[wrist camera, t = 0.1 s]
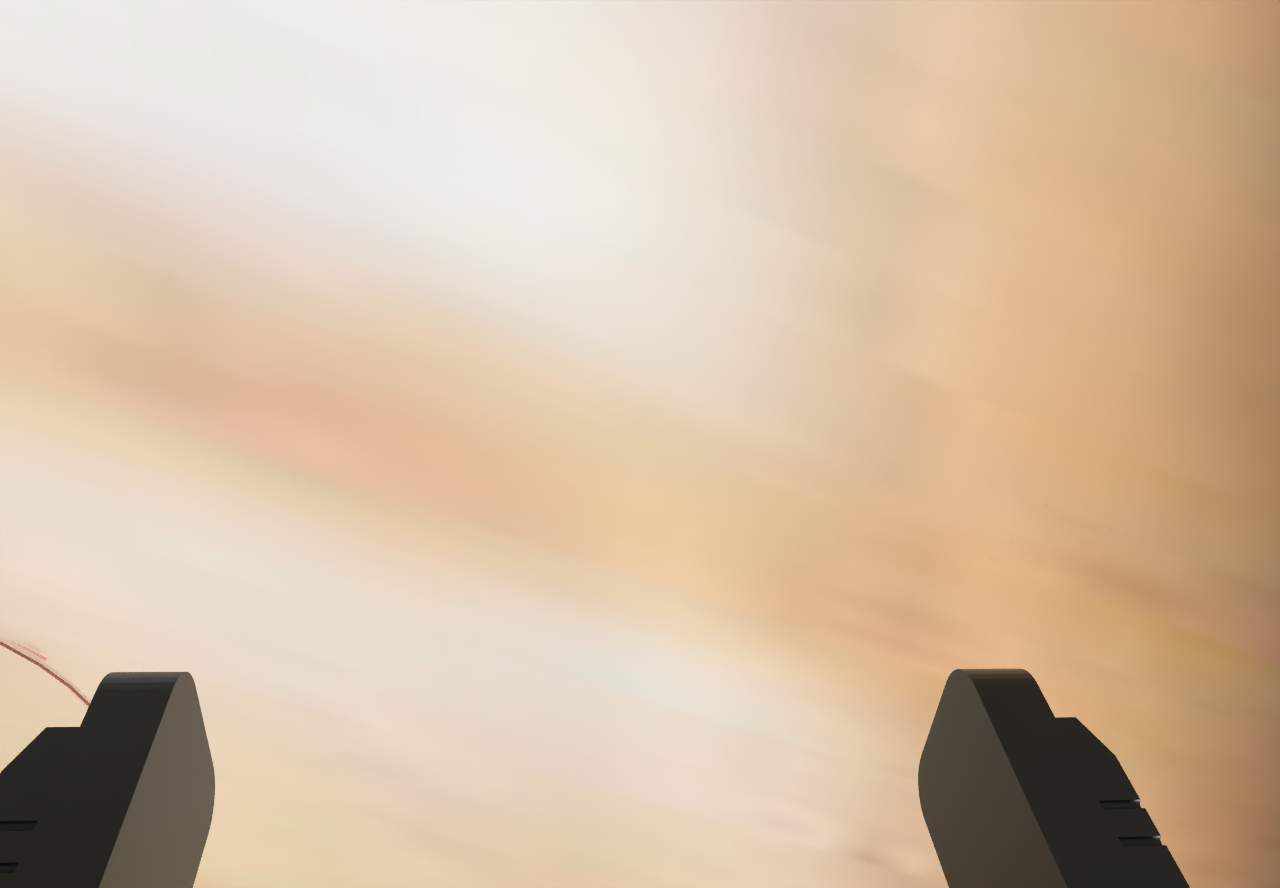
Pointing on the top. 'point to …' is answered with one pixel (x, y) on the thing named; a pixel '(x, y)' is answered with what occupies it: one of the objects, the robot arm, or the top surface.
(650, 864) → the top surface
